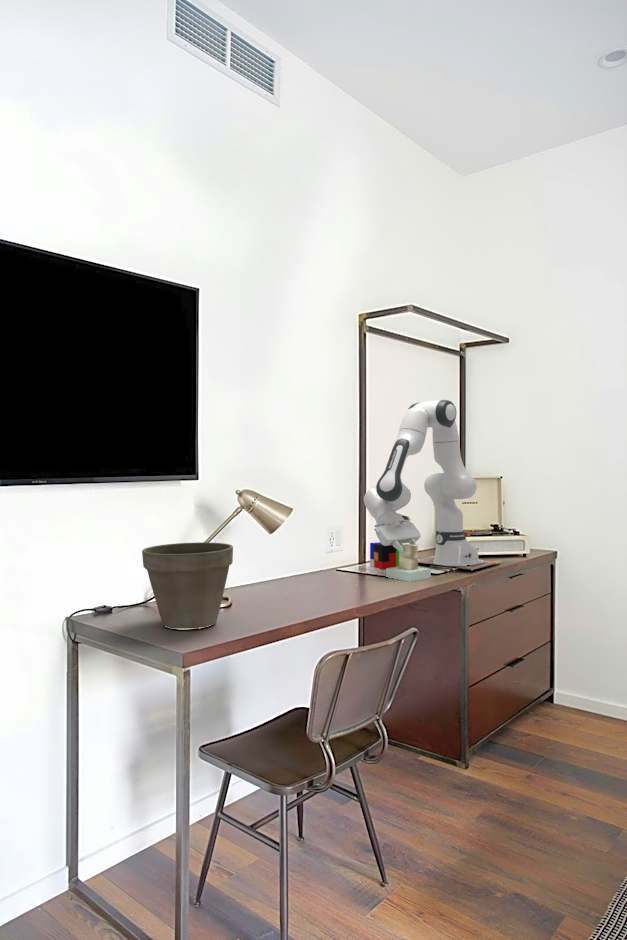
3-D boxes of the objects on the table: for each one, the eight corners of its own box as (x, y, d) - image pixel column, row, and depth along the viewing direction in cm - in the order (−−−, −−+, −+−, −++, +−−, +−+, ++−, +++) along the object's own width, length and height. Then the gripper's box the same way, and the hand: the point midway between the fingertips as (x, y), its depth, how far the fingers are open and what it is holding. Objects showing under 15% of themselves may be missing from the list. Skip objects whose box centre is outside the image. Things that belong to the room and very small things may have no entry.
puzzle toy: (370, 566, 289) (370, 542, 289) (390, 564, 293) (390, 541, 293) (382, 570, 280) (382, 545, 280) (403, 568, 284) (403, 544, 284)
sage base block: (406, 575, 271) (406, 565, 271) (430, 579, 262) (430, 568, 262) (386, 579, 263) (386, 568, 263) (410, 583, 254) (410, 572, 254)
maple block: (407, 567, 266) (407, 544, 265) (417, 568, 262) (417, 545, 262) (399, 568, 262) (399, 545, 262) (409, 570, 259) (409, 546, 258)
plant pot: (123, 627, 187) (122, 548, 187) (188, 610, 208) (187, 539, 207) (189, 641, 173) (188, 555, 173) (251, 621, 194) (251, 545, 193)
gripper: (376, 519, 260) (395, 548, 253) (411, 516, 274) (430, 543, 266) (367, 530, 263) (386, 558, 256) (403, 526, 277) (421, 553, 270)
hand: (409, 550), depth 261 cm, fingers open, 6 cm apart
